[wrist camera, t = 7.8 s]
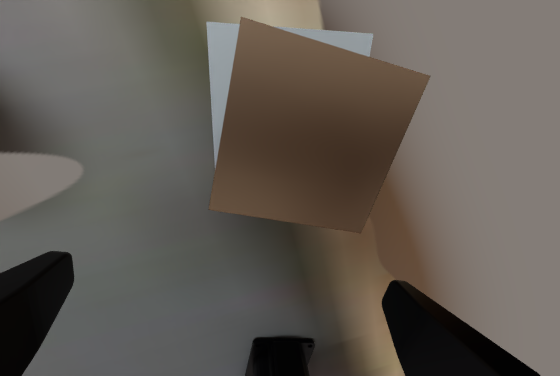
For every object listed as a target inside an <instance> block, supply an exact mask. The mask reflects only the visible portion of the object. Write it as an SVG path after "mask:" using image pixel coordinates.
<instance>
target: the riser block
mask: <svg viewBox="0 0 560 376" xmlns="http://www.w3.org/2000/svg"><path fill="white" fill-rule="evenodd" d="M239 26H240V24H231V23H217V22H207V37H208V54H209V72H210V89H211V107H212V124H213V142H214V159H215V168H216V162H217V157H218V151H219V145H220V139H221V133H222V127H223V121H224V115H225V109H226V103H227V97H228V91H229V85H230V79H231V73H232V68H233V62H234V56H235V50H236V44H237V38H238V32H239ZM272 27H273V26H272ZM275 28H279V29H282V30H285V31H288V32H291V33H295V34H298V35H301V36H304V37H307V38H311V39H314V40H317V41H320V42H323V43H326V44H330V45H333V46H336V47H339V48H342V49H346V50H349V51H352V52H355V53H358V54H362V55H365V56H368V57H369V56H370V50H371V44H372V39H373V34H370V33H356V32H342V31H327V30H315V29H301V28H287V27H275Z"/></svg>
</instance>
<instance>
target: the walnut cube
mask: <svg viewBox="0 0 560 376" xmlns="http://www.w3.org/2000/svg"><path fill="white" fill-rule="evenodd" d="M429 78H430V76H429V75H425V74H422V73H419V72H416V71H413V70H409V69H406V68H403V67H400V66H397V65H393V64H390V63H387V62H384V61H381V60H378V59H374V58H371V57H368V56H365V55H362V54H358V53H355V52H352V51H349V50H346V49H342V48H339V47H336V46H333V45H330V44H326V43H323V42H320V41H317V40H314V39H311V38H307V37H304V36H301V35H298V34H295V33H291V32H288V31H285V30H282V29H279V28H275V27H272V26H269V25H266V24H263V23H259V22H256V21H253V20H250V19H247V18H243V17H241V20H240V26H239V32H238V38H237V44H236V50H235V56H234V62H233V68H232V73H231V79H230V85H229V91H228V97H227V103H226V109H225V115H224V121H223V127H222V133H221V139H220V145H219V151H218V157H217V162H216V168H215V174H214V180H213V186H212V192H211V198H210V204H209V210H213V211H220V212H226V213H233V214H239V215H246V216H252V217H259V218H266V219H272V220H279V221H285V222H292V223H298V224H305V225H311V226H318V227H324V228H331V229H337V230H344V231H350V232H357V233H361V232H362V230H363V227H364V225H365V223H366V221H367V218H368V216H369V214H370V212H371V209H372V207H373V205H374V202H375V200H376V198H377V196H378V194H379V191H380V189H381V187H382V184H383V182H384V180H385V178H386V175H387V173H388V171H389V168H390V166H391V164H392V162H393V160H394V157H395V155H396V153H397V151H398V148H399V146H400V144H401V142H402V139H403V137H404V135H405V132H406V130H407V128H408V126H409V123H410V121H411V119H412V117H413V114H414V112H415V110H416V108H417V105H418V103H419V101H420V99H421V96H422V94H423V92H424V90H425V87H426V85H427V83H428V80H429Z"/></svg>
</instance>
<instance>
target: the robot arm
mask: <svg viewBox="0 0 560 376" xmlns="http://www.w3.org/2000/svg"><path fill="white" fill-rule="evenodd" d="M73 283H74V271H73V261H72V256H71V254H70V253H68V252H59V251H50V252H47V253H45V254H42V255H40V256H38V257H36V258H33V259H31V260H29V261H27V262H24V263H22V264H20V265H18V266H15V267H13V268H11V269H9V270H7V271H4V272H2V273H0V376H22V374H23V373H24V371H25V370H26V368H27V367H28V365H29V364H30V362H31V361H32V359H33V357H34V356H35V354H36V353H37V351H38V350H39V348H40V346H41V344H42V343H43V341H44V339H45V337H46V335H47V333H48V331H49V330H50V328H51V326H52V324H53V322H54V320H55V318H56V316H57V315H58V313H59V311H60V309H61V307H62V305H63V303H64V301H65V299H66V298H67V296H68V294H69V292H70V290H71V288H72V286H73ZM382 308H383V311H384V314H385V318H386V321H387V324H388V327H389V330H390V334H391V337H392V340H393V343H394V347H395V350H396V353H397V356H398V358H399V361H400V364H401V366H402V369H403V371H404V373H405V376H540V375H539V374H538V373H537V372H535V371H534V370H533V369H531V368H530V367H528V366H527V365H526V364H524V363H523V362H521V361H520V360H518V359H517V358H515V357H514V356H512V355H511V354H510V353H508V352H507V351H505V350H504V349H502V348H501V347H500V346H498V345H497V344H495V343H494V342H492V341H491V340H490V339H488V338H487V337H485V336H484V335H482V334H481V333H479V332H478V331H477V330H475V329H474V328H472V327H471V326H469V325H468V324H467V323H465V322H463V321H462V320H461V319H459V318H458V317H456V316H455V315H454V314H452V313H451V312H449V311H448V310H446V309H445V308H444V307H442V306H441V305H439V304H438V303H436V302H435V301H433V300H432V299H430V298H429V297H427V296H426V295H425V294H423V293H422V292H420V291H419V290H418V289H416V288H415V287H413V286H412V285H410V284H409V283H408V282H405V281H399V280H393V281H391V282H390V284H389V286H388V288H387V290H386V292H385V294H384V296H383V299H382ZM314 347H315V344H314V341H313V340H311V339H255V340H254V341H253V343H252V348H251V352H250V356H249V361H248V365H247V369H246V374H245V376H309V371H308V366H307V365H308V363H309V360H310V357H311V355H312V352H313V349H314Z"/></svg>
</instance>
